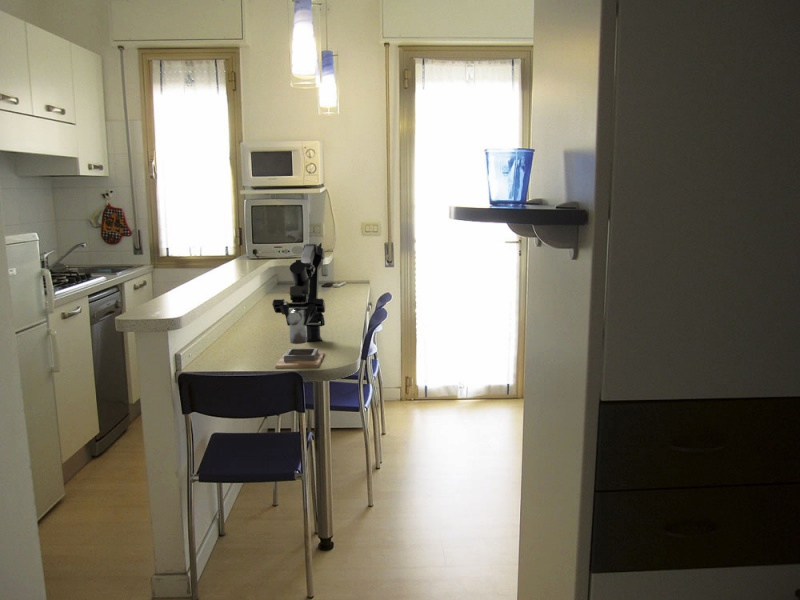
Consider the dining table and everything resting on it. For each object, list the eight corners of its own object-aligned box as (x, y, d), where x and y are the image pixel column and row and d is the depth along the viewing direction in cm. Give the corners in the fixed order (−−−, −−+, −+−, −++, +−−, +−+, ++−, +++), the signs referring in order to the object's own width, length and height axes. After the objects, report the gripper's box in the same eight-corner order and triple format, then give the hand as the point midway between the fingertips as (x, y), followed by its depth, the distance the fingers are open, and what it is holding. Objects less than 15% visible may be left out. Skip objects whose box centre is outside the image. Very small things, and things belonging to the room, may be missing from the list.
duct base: (284, 354, 242) (284, 347, 242) (324, 354, 242) (324, 346, 242) (275, 368, 225) (275, 359, 224) (318, 367, 224) (317, 359, 224)
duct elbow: (291, 340, 237) (290, 307, 234) (307, 339, 236) (306, 307, 234) (286, 346, 227) (284, 313, 225) (302, 346, 227) (301, 312, 224)
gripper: (272, 277, 234) (266, 313, 225) (323, 276, 233) (319, 312, 224) (277, 294, 243) (272, 329, 234) (326, 294, 242) (323, 329, 233)
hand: (296, 325), depth 231 cm, fingers closed on duct elbow, 6 cm apart
